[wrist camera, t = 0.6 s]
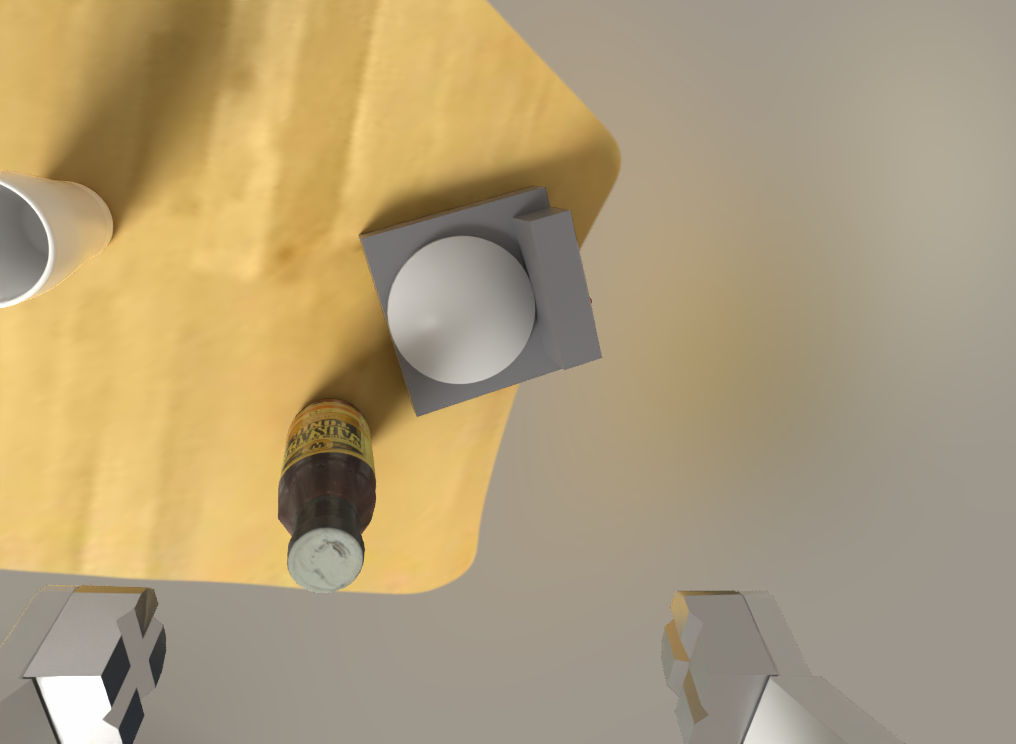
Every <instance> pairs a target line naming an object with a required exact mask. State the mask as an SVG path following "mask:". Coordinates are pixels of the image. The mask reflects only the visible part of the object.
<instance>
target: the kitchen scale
mask: <svg viewBox="0 0 1016 744" xmlns="http://www.w3.org/2000/svg"><path fill="white" fill-rule="evenodd" d="M359 238H360V242H361V245H362V248H363V251H364V254H365V258H366V261H367V264H368V267H369V270H370V273H371V277H372V280H373V283H374V286H375V289H376V293H377V296H378V299H379V302H380V305H381V309H382V312H383V315H384V318H385V321H386V324H387V328H388V331H389V334H390V337H391V340H392V344H393V347H394V350H395V353H396V356H397V359H398V363H399V366H400V369H401V372H402V375H403V379H404V382H405V385H406V388H407V391H408V395H409V398H410V401H411V404H412V407H413V409H414V411H415V413H416V416H417V417H418V416H421V415H424V414H427V413H430V412H433V411H436V410H439V409H442V408H445V407H448V406H451V405H454V404H457V403H460V402H463V401H466V400H469V399H472V398H475V397H478V396H481V395H484V394H487V393H491V392H494V391H497V390H500V389H503V388H506V387H509V386H512V385H515V384H518V383H521V382H524V381H527V380H530V379H533V378H536V377H539V376H542V375H545V374H548V373H551V372H554V371H557V370H560V369H564V370H566V369H569V368H572V367H575V366H578V365H581V364H584V363H587V362H590V361H593V360H596V359H599V358H602V356H601V351H600V346H599V341H598V337H597V332H596V328H595V321H594V316H593V312H592V307H591V303H592V300H591V298H590V297H589V293H588V288H587V284H586V279H585V275H584V270H583V265H582V261H581V256H580V251H579V246H578V244H577V239H576V235H575V230H574V225H573V221H572V216H571V212H570V210H567V209H560V208H553V207H550V205H549V201H548V196H547V192H546V187H540V186H532V187H528V188H525V189H521V190H518V191H514V192H511V193H507V194H504V195H500V196H496V197H493V198H489V199H486V200H482V201H479V202H475V203H472V204H468V205H464V206H461V207H457V208H454V209H450V210H447V211H443V212H440V213H436V214H433V215H429V216H425V217H422V218H418V219H415V220H411V221H408V222H404V223H401V224H397V225H393V226H390V227H386V228H383V229H379V230H376V231H372V232H369V233H365V234H361V235H359Z"/></svg>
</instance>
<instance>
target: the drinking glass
mask: <svg viewBox="0 0 1016 744" xmlns="http://www.w3.org/2000/svg"><path fill="white" fill-rule="evenodd" d="M112 234H113V219H112V215H111V212H110V210H109V208H108V206H107V205H106V203H105V202H104V201H103V199H102V198H101V197H100V196H99V195H98V194H97V193H95V192H94V191H93V190H91V189H90V188H88V187H86V186H84V185H81V184H79V183H75V182H71V181H57V180H52V179H48V178H43V177H39V176H35V175H30V174H26V173H21V172H16V171H9V170H0V308H3V307H8V306H12V305H15V304H18V303H21V302H24V301H27V300H30V299H32V298H35V297H37V296H40V295H42V294H44V293H46V292H48V291H50V290H51V289H53V288H55V287H56V286H58V285H59V284H61V283H62V282H63V281H64V280H66V279H67V278H68V277H69V276H71V275H72V274H73V273H74V272H75V271H76V270H78V269H79V268H80V267H81V266H82V265H84V264H85V263H86V262H87V261H88V260H90V259H92V258H94V257H96V256H98V255H99V254H100V253H101V252H103V251H104V250H105V248H106V247H107V246H108V244H109V242H110V240H111V237H112Z"/></svg>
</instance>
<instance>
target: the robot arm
mask: <svg viewBox="0 0 1016 744" xmlns="http://www.w3.org/2000/svg"><path fill="white" fill-rule="evenodd" d="M157 607H158V601H157V597H156V594H155V591H154V589H151V588H146V587H114V586H84V585H81V586H70V585H46V586H44V587H43V588H42V589H40V590H39V591H38V592H37V593H35V595H34V596H33V598H32V599H31V601H30V602H29V604H28V605H27V607H26V609H25V610H24V612H23V613H22V615H21V616H20V618H19V619H18V621H17V622H16V624H15V625H14V627H13V628H12V630H11V631H10V633H9V634H8V636H7V638H6V639H5V641H4V642H3V644H2V645H1V647H0V744H133V742H134V740H135V737H136V735H137V732H138V730H139V728H140V725H141V723H142V720H143V718H144V712H143V708H142V705H141V700H142V699H143V698H144V697H145V696H146V695H148V694H149V693H150V692H151V691H153V690H154V689H155V688H156V686H157V683H158V680H159V678H160V675H161V673H162V669H163V664H164V659H165V654H166V634H165V629H164V625H163V624H162V623H161V622H159V621H158V620H157V619H156V618H155V617H153V616H154V613H155V611H156V609H157ZM670 609H671V612H672V615H673V618H674V619H673V620H672V621H671V622H670V623H668V624H667V625H666V626H665V628H664V633H663V638H662V656H661V658H662V665H663V671H664V675H665V679H666V683H667V686H668V687H669V688H670V689H671V690H672V691H673V692H674V693H675V694H676V695H677V696H678V697H679V698H678V702H677V705H676V708H675V714H676V718H677V722H678V725H679V728H680V732H681V735H682V739H683V742H684V744H905V743H904V742H902V741H901V740H900V739H899V738H897V737H896V736H895V735H894V734H893V733H891V732H890V731H889V730H887V729H886V728H885V727H884V726H883V725H881V724H880V723H879V722H878V721H876V720H875V719H874V718H873V717H871V716H870V715H869V714H868V713H867V712H865V711H864V710H863V709H861V708H860V707H859V706H858V705H857V704H855V703H854V702H853V701H852V700H850V699H849V698H848V697H846V696H845V695H844V694H843V693H842V692H840V691H839V690H838V689H837V688H836V687H834V686H833V685H832V684H831V683H829V682H828V681H827V680H826V679H824V678H823V677H820V676H812V674H811V672H810V669H809V668H808V666H807V663H806V661H805V660H804V657H803V655H802V653H801V651H800V649H799V647H798V645H797V643H796V641H795V639H794V637H793V635H792V633H791V631H790V629H789V627H788V625H787V623H786V621H785V619H784V617H783V615H782V613H781V611H780V609H779V607H778V605H777V603H776V601H775V599H774V596H773V595H772V594H770V593H769V592H768V591H737V592H736V591H677V592H676V594H675V595H674V596H673V599H672V603H671V606H670Z"/></svg>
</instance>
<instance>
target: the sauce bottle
mask: <svg viewBox="0 0 1016 744" xmlns="http://www.w3.org/2000/svg"><path fill="white" fill-rule="evenodd" d="M375 490H376V479H375V468H374V460H373V452H372V444H371V435H370V430H369V427H368V424H367V422H366V420H365V418H364V416H363V415H362V414H361V413H360V411H359V410H357V408H355V407H354V406H353V405H352V404H350V403H348V402H345V401H340V400H336V399H326V400H325V399H320V400H318V401H316V402H314V403H312V404H310V405H308V406H307V407H305V408H304V409H303V410H302V411H300V412H299V413H298V414H297V415H296V417H295V419H294V420H293V422H292V424H291V426H290V428H289V431H288V435H287V441H286V448H285V453H284V459H283V465H282V471H281V476H280V481H279V489H278V519H279V520H280V522H281V523H282V524H283V525H284V527H285V528H286V529H287V531H288V532H289V533H290V535H291V536H292V538H291V539H290V542H289V545H288V554H287V555H288V559H287V563H288V570H289V572H290V575H291V577H292V578H293V579H294V581H295V582H296V583H297V584H298V585H300V586H301V587H304V588H305V589H306V590H309V591H312V592H317V593H330V592H334V591H336V590H339V589H342V588H345V587H347V586H348V585H349V584H351V583H352V582H353V581H354V580H355V579H356V577H357V576H358V574H359V573H360V571H361V568H362V566H363V562H364V552H365V548H364V542H363V539H362V535H361V534H362V533H363V531H364V530H365V529H366V527H367V526H368V525H369V523H370V521H371V519H372V516H373V512H374V508H375V503H376V492H375Z"/></svg>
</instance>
